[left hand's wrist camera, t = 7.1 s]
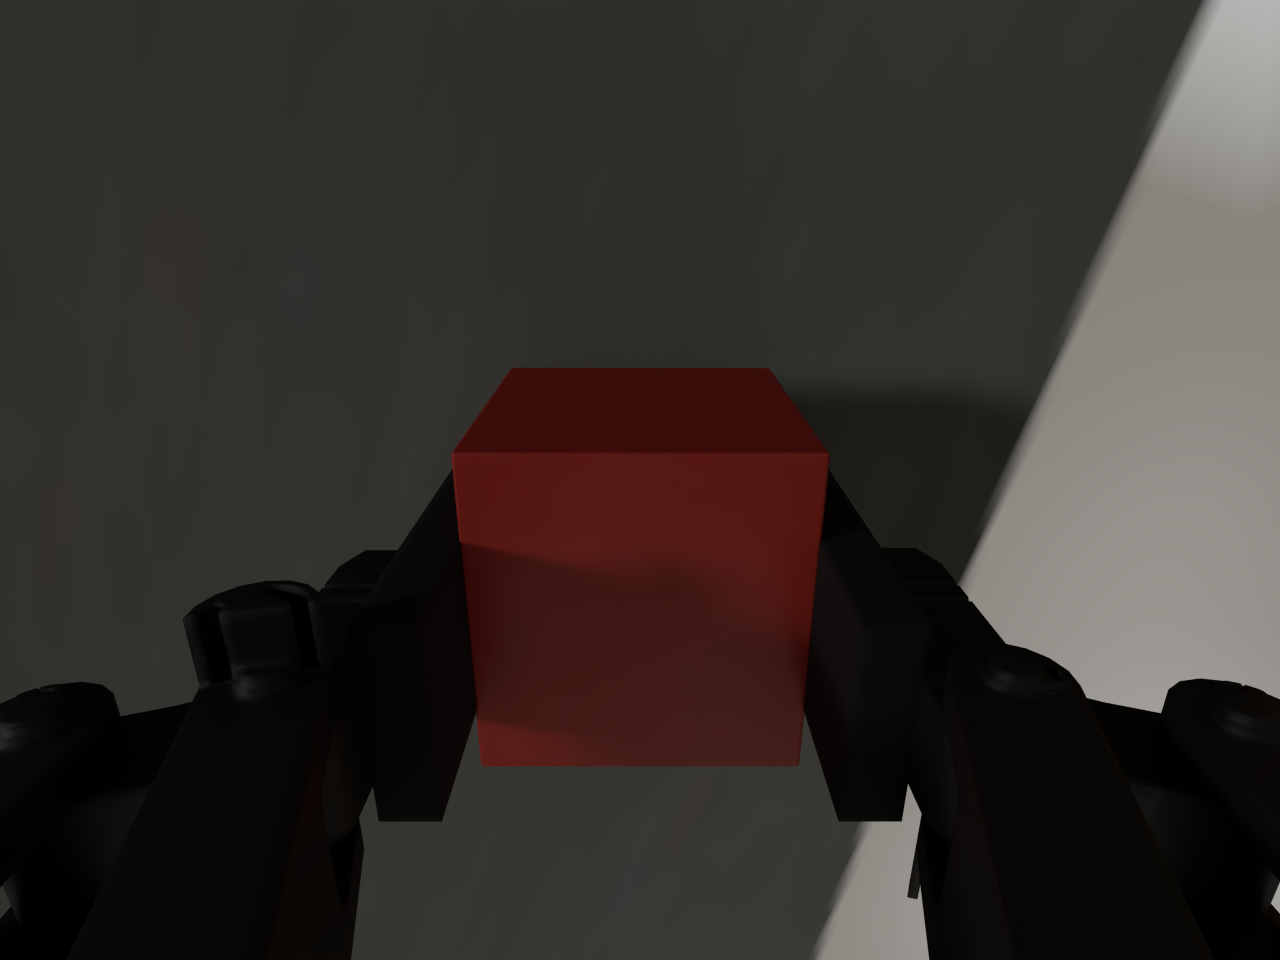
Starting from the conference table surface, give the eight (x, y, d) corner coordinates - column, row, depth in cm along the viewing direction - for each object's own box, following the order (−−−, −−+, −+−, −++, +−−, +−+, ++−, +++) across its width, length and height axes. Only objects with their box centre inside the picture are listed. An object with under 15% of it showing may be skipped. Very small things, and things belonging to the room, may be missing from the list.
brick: (510, 367, 14) (450, 452, 9) (770, 367, 14) (830, 452, 9) (525, 603, 16) (480, 767, 11) (754, 603, 16) (799, 768, 11)
